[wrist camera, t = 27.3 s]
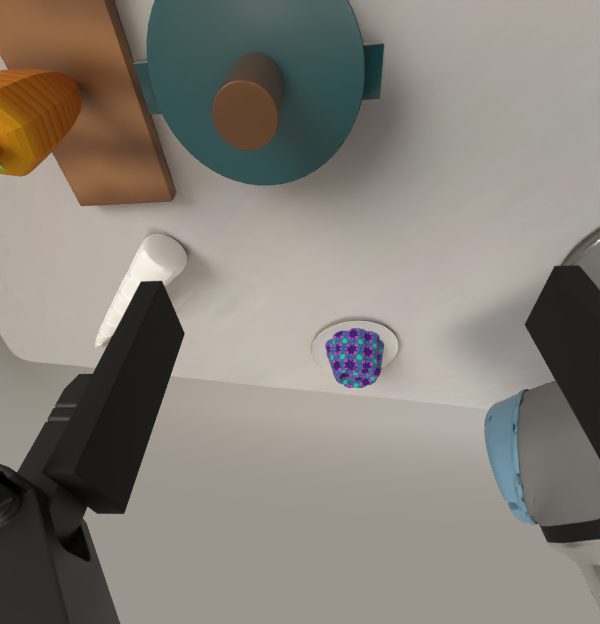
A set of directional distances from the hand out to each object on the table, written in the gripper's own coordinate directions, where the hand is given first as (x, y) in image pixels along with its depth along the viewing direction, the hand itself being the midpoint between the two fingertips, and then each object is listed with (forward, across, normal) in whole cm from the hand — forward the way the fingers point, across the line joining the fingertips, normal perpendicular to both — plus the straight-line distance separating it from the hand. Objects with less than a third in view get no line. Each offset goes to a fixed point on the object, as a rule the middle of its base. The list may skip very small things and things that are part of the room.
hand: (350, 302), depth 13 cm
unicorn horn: (+24, -24, -20) cm, 39 cm away
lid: (+19, -5, +3) cm, 20 cm away
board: (+24, -20, +3) cm, 31 cm away
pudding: (+24, +3, -31) cm, 40 cm away
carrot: (+22, -20, +3) cm, 30 cm away
